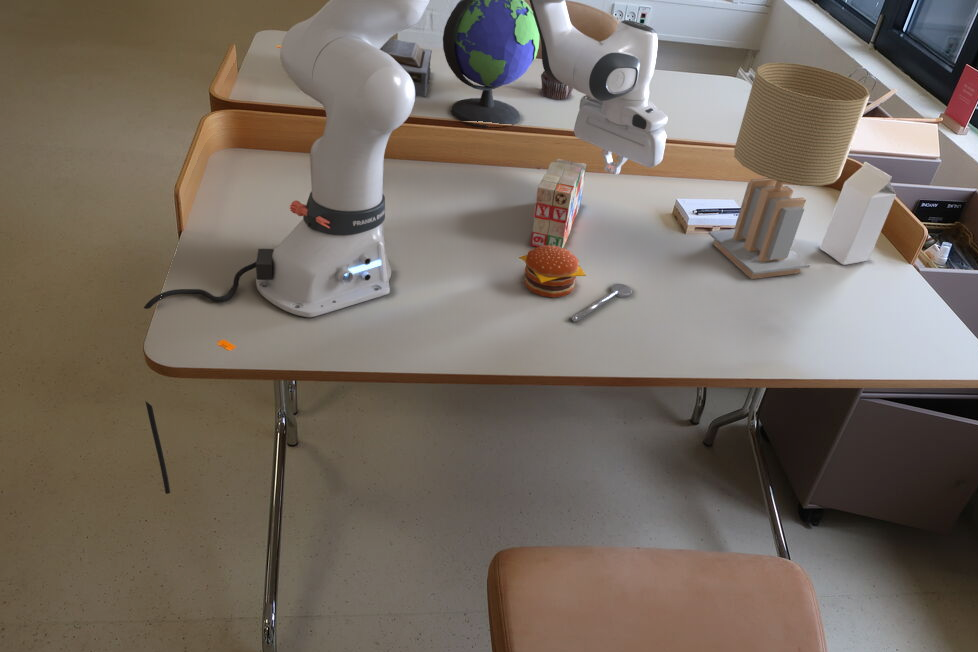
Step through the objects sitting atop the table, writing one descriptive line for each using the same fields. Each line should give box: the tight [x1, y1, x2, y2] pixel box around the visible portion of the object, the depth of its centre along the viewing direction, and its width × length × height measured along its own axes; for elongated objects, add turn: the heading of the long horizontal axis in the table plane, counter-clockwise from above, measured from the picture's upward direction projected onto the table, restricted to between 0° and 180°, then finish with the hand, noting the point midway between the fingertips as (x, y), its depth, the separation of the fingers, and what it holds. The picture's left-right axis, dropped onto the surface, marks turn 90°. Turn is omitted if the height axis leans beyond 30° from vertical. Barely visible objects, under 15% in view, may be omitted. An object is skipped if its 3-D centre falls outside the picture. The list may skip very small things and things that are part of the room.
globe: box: [442, 0, 540, 129], centre depth 198 cm, size 22×22×30 cm
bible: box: [380, 38, 433, 98], centre depth 215 cm, size 23×27×10 cm
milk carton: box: [819, 161, 897, 266], centre depth 164 cm, size 7×7×19 cm
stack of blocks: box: [529, 158, 587, 248], centre depth 160 cm, size 21×6×12 cm, turn 168°
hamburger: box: [518, 245, 587, 298], centre depth 143 cm, size 9×10×7 cm
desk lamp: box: [707, 61, 871, 280], centre depth 153 cm, size 20×20×35 cm
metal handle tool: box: [571, 283, 632, 323], centre depth 142 cm, size 16×4×1 cm, turn 142°
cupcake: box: [540, 70, 574, 101], centre depth 223 cm, size 10×10×10 cm
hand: (612, 171), depth 172 cm, fingers closed
